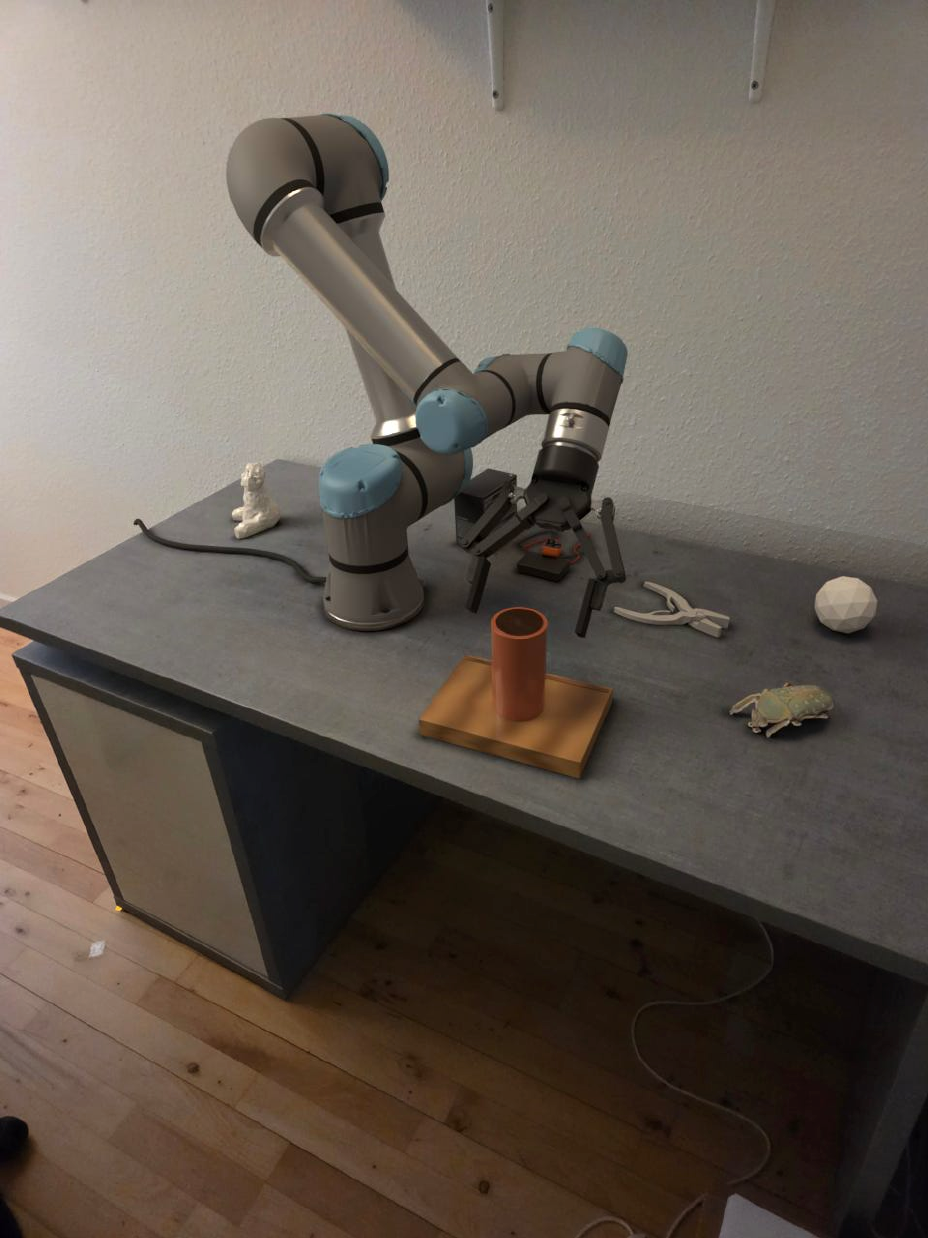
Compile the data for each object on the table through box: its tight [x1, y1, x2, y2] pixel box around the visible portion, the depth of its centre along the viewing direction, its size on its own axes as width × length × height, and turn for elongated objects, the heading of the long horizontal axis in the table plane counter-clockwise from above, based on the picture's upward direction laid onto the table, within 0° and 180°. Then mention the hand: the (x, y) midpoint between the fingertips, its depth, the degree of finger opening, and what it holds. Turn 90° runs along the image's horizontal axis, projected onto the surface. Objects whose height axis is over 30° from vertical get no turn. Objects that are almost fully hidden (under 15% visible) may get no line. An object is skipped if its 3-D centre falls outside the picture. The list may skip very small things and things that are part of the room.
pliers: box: [613, 581, 731, 638], centre depth 115 cm, size 10×2×15 cm
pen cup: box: [490, 606, 548, 721], centre depth 93 cm, size 6×6×12 cm
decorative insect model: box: [728, 682, 835, 738], centre depth 95 cm, size 9×11×5 cm
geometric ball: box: [814, 575, 878, 634], centre depth 109 cm, size 8×8×8 cm
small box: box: [453, 467, 518, 547], centre depth 134 cm, size 11×6×10 cm, turn 144°
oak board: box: [418, 654, 614, 779], centre depth 97 cm, size 20×14×3 cm
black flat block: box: [516, 530, 594, 582], centre depth 131 cm, size 18×12×3 cm, turn 145°
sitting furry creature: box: [231, 461, 281, 540], centre depth 141 cm, size 10×9×12 cm
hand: (523, 623), depth 93 cm, fingers open, 13 cm apart
